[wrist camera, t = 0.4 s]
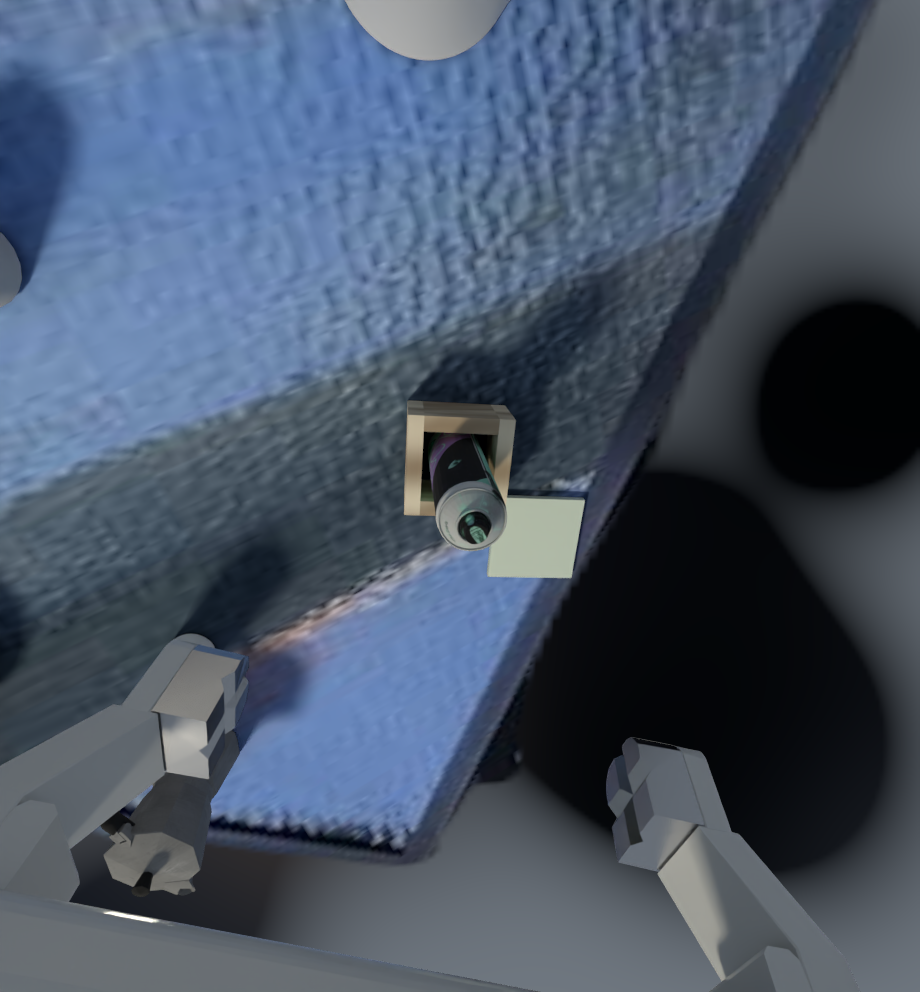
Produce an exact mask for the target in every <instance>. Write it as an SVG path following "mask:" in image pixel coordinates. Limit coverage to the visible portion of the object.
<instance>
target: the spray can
mask: <svg viewBox="0 0 920 992" xmlns="http://www.w3.org/2000/svg"><path fill="white" fill-rule="evenodd" d="M428 459H429V467H430V475H431V483H432V491H433V499H434V507H435V515H436V522H437V526H438V528H439V530H440V533H441V535H442V537H443V538H444V539H445V541H447V542H448V543H449V544H450V545H452V546H453V547H455V548H457V549H460V550H465V551H477V550H482V549H484V548H487V547H489V546H490V545H492V544H494V543H495V542H496V541H497V540H498V539H499V538H500V537H501V535H502V534H503V532H504V530H505V527H506V524H507V511H506V505H505V503H504V500H503V498H502V495H501V493H500V491H499V489H498V486H497V484H496V482H495V479H494V477H493V475H492V472H491V470H490V468H489V465H488V463H487V461H486V459H485V456H484V454H483V452H482V449H481V447H480V445H479V442H478V440H477V438H476V437H475V435H474V434H466V433H444V432H435V433H434V434H433V436H432V437H431V439H430V441H429V445H428Z"/></svg>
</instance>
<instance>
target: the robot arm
mask: <svg viewBox="0 0 920 992" xmlns="http://www.w3.org/2000/svg"><path fill="white" fill-rule="evenodd" d="M345 1H346V3H347V5H348V7H349V8H350V10H351V12H352V13H353V15H354V16H355V17H356V19H357V20H358V21H359V23H360V24H361V25H362V26H363V27H364V29H365V30H366V31H367V32H368V33H369V34H370V35H371V36H372V37H374V38H375V39H376V40H377V41H378V42H380V43H381V44H382V45H384V46H385V47H387V48H388V49H390V50H392V51H394V52H396V53H398V54H400V55H403V56H406V57H409V58H413V59H418V60H440V59H445V58H449V57H453V56H455V55H458V54H460V53H462V52H464V51H466V50H467V49H469V48H471V47H472V46H473V45H475V44H476V43H477V42H478V41H480V40H481V39H482V38H483V37H484V36H485V35H486V34H487V33H488V31H489V30H490V29H491V28H492V27H493V25H494V24H495V23H496V21H497V19H498V18H499V16H500V15H501V13H502V12H503V10H504V8H505V7H506V5H507V4H508V3H509V1H510V0H345ZM248 668H249V656H245V655H241V654H236V653H232V652H228V651H224V650H220V649H216V648H212V647H207V646H203V645H199V644H195V643H190V642H186V641H181V640H177V639H174V640H172V641H171V642H170V643H168V644H167V645H166V646H165V647H164V649H163V650H162V651H161V653H160V654H159V655H158V657H157V658H156V659H155V661H154V662H153V664H152V665H151V666H150V668H149V669H148V670H147V672H146V673H145V674H144V676H143V677H142V678H141V680H140V681H139V682H138V684H137V685H136V686H135V688H134V689H133V690H132V692H131V693H130V694H129V696H128V697H127V698H126V700H125V701H124V702H123V704H122V705H121V706H120V705H114V704H113V705H111V706H110V707H108V708H106V709H104V710H102V711H100V712H98V713H97V714H95V715H93V716H91V717H89V718H87V719H86V720H84V721H82V722H80V723H78V724H76V725H75V726H73V727H71V728H69V729H67V730H65V731H64V732H62V733H60V734H58V735H56V736H54V737H52V738H51V739H49V740H47V741H45V742H43V743H41V744H40V745H38V746H36V747H34V748H32V749H30V750H29V751H27V752H25V753H23V754H21V755H19V756H18V757H16V758H14V759H12V760H10V761H8V762H6V763H5V764H3V765H1V766H0V992H538V991H533V990H528V989H523V988H518V987H512V986H507V985H502V984H497V983H491V982H485V981H481V980H476V979H470V978H465V977H460V976H455V975H449V974H444V973H439V972H433V971H428V970H423V969H417V968H413V967H407V966H402V965H397V964H391V963H386V962H381V961H376V960H370V959H365V958H360V957H354V956H350V955H344V954H339V953H334V952H328V951H323V950H318V949H313V948H307V947H302V946H297V945H291V944H286V943H281V942H276V941H271V940H265V939H260V938H255V937H250V936H244V935H238V934H233V933H228V932H223V931H217V930H213V929H207V928H202V927H196V926H192V925H186V924H181V923H175V922H171V921H165V920H160V919H155V918H150V917H144V916H139V915H133V914H128V913H123V912H117V911H112V910H107V909H102V908H97V907H91V906H86V905H80V904H76V903H71V902H69V900H70V899H71V897H72V895H73V894H74V892H75V890H76V888H77V887H78V885H79V877H78V873H77V870H76V867H75V864H74V861H73V858H72V855H71V852H70V849H71V848H72V847H73V846H74V845H76V844H77V843H78V842H80V841H81V840H82V839H83V838H84V837H86V836H87V835H88V834H90V833H91V832H92V831H94V830H95V829H96V828H97V827H99V826H100V825H101V824H102V823H104V822H105V821H106V820H108V819H109V818H110V817H111V816H113V815H114V814H115V813H116V812H118V811H119V810H120V809H122V808H123V807H124V806H125V805H127V804H128V803H129V802H130V801H132V800H133V799H134V798H136V797H137V796H138V795H139V794H141V793H142V792H143V791H144V790H146V789H147V788H148V787H150V786H151V785H152V784H153V783H155V782H156V781H157V780H158V779H160V778H161V777H162V776H164V774H165V772H169V773H175V774H181V775H187V776H193V777H198V778H204V779H209V778H210V776H211V774H212V772H213V770H214V768H215V766H216V764H217V762H218V760H219V758H220V757H221V755H222V753H223V751H224V749H225V734H226V733H228V732H229V731H231V730H232V729H234V728H235V727H236V725H237V723H238V721H239V718H240V716H241V714H242V711H243V708H244V706H245V703H246V699H247V694H248V686H249V682H248V680H247V679H246V678H245V677H244V676H245V674H246V672H247V670H248ZM622 749H623V753H624V755H622V756H620V757H618V758H616V759H614V761H613V762H612V764H611V766H610V768H609V771H608V777H607V798H608V805H609V807H610V808H611V809H612V811H613V812H614V814H615V815H616V816H617V820H616V822H615V823H614V825H613V827H612V830H613V835H614V842H615V847H616V854H617V860H618V862H620V863H624V864H628V865H632V866H636V867H641V868H645V869H649V870H654V871H658V872H659V873H658V875H659V877H660V879H661V880H662V882H663V884H664V885H665V887H666V889H667V890H668V892H669V894H670V895H671V897H672V899H673V900H674V902H675V904H676V905H677V907H678V909H679V910H680V912H681V914H682V915H683V917H684V919H685V920H686V922H687V924H688V925H689V927H690V929H691V930H692V932H693V934H694V935H695V937H696V939H697V940H698V942H699V944H700V946H701V947H702V949H703V950H704V952H705V954H706V955H707V957H708V959H709V960H710V962H711V964H712V966H713V967H714V969H715V971H716V972H717V974H718V975H719V977H720V979H721V981H722V982H721V983H719V984H718V985H717V986H716V987H714V988H713V989H712V990H711V991H709V992H860V990H859V988H858V985H857V983H856V981H855V979H854V976H853V974H852V972H851V969H850V967H849V965H848V962H847V960H846V959H845V957H844V956H843V955H842V954H841V953H840V952H839V950H838V949H837V948H836V947H835V946H834V945H833V944H832V942H831V941H830V940H829V939H828V938H827V936H826V935H825V934H824V933H823V932H822V931H821V930H820V928H819V927H818V926H817V925H816V924H815V923H814V921H813V920H812V919H811V918H810V917H809V916H808V914H807V913H806V912H805V911H804V910H803V908H802V907H801V906H800V905H799V904H798V903H797V901H796V900H795V899H794V898H793V897H792V896H791V895H790V893H789V892H788V891H787V890H786V889H785V888H784V886H783V885H782V884H781V883H780V882H779V880H778V879H777V878H776V877H775V876H774V875H773V874H772V872H771V871H770V870H769V869H768V868H767V866H766V865H765V864H764V863H763V862H762V861H761V860H760V858H758V856H757V855H756V854H755V853H754V851H753V850H752V849H751V848H750V847H749V846H748V844H747V843H746V842H745V841H744V840H743V839H742V837H741V836H740V835H739V834H736V833H732V832H731V829H730V826H729V823H728V821H727V818H726V815H725V812H724V809H723V806H722V804H721V801H720V798H719V795H718V792H717V789H716V787H715V784H714V781H713V778H712V775H711V773H710V769H709V767H708V764H707V761H706V758H705V757H704V755H703V754H702V753H701V752H699V751H695V750H690V749H685V748H680V747H676V746H674V745H668V744H664V743H658V742H653V741H649V740H644V739H638V738H633V737H631V738H629V739H627V740H626V742H625V743H624V745H623V746H622Z"/></svg>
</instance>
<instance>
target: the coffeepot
mask: <svg viewBox="0 0 920 992" xmlns="http://www.w3.org/2000/svg"><path fill="white" fill-rule="evenodd" d="M239 754H240V753H239V747H238V740H237V737H236V735H235V733H234V732H233V731H232V730H231V731H229V732H228V733H226V734H225V749H224V751H223V753H222V755H221V757H220V758H219V760H218V762H217V764H216V766H215V768H214V770H213V772H212V774H211V776H210V778H209V779H204V778H198V777H193V776H187V775H181V774H175V773H169V772H165V774H164V776H162V777H161V778H160V779H158V780H157V781H156V782H155V783H153V788H152V790H151V791H150V792H149V793H148V794H147V795H146V796H145V797H144V798H143V799H142V801H141V802H140V804H139V805H138V806H137V808H136V809H135V811H134V812H133V814H132V815H131V817H130V818H129V819H128V818H127V817H125V816H123V815H122V814H121V813H120V812H119V811H118V812H116V813H115V814H114V815H113V816H111V817H110V818H109V819H108V820H106V821H105V822H104V823H102V824H101V825H100V826H101V828H102V829H103V830H105V831H106V832H108V833H109V834H110V836H109V838H111V839H112V840H113V843H112V844H111V846H110V847H109V849H108V850H107V851H106V853H105V854H104V858H105V860H106V863H107V865H108V868H109V870H110V873H111V875H112V877H113V878H114V879H116V880H118V881H121V882H123V883H126V884H128V885H130V886H133V888H132V890H131V891H132V893H133V895H136V896H138V897H142V896H146V895H147V894H148V893H149V892H150V891H152V890H162V889H164V890H166V891H168V892H171V893H173V894H180V895H186V894H189V893H190V892H192V891H193V892H194V891H195V888H194V886H193V884H192V877H193V876H194V875H195V874H196V873H197V872H198V871H199V870H200V868H201V863H202V858H203V853H204V848H205V843H206V838H207V833H208V827H209V822H210V817H211V812H212V811H211V805H210V803H211V800H212V798H213V797H214V796H215V795H216V794H217V792H218V790H219V789H220V787H221V785H222V783H223V782H224V780H225V778H226V776H227V775H228V773H229V771H230V770H231V768H232V766H233V764H234V763H235V761H236V759H237V757H238V756H239Z"/></svg>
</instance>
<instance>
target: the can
mask: <svg viewBox="0 0 920 992" xmlns="http://www.w3.org/2000/svg"><path fill="white" fill-rule="evenodd" d="M21 281H22V274H21V265H20V262H19V259H18V257H17V255H16V252H15V250H14V248H13V247H12V246H11V244H10V243H9V241H8V240H7V239H6V237H5V236H4V235H3V234H2V233H1V232H0V307H2V306H4V305H6V304H7V303H9V302H11V301H12V300H13V298H14V297H15V296H16V295H17V293H18V292H19V289H20V285H21Z"/></svg>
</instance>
